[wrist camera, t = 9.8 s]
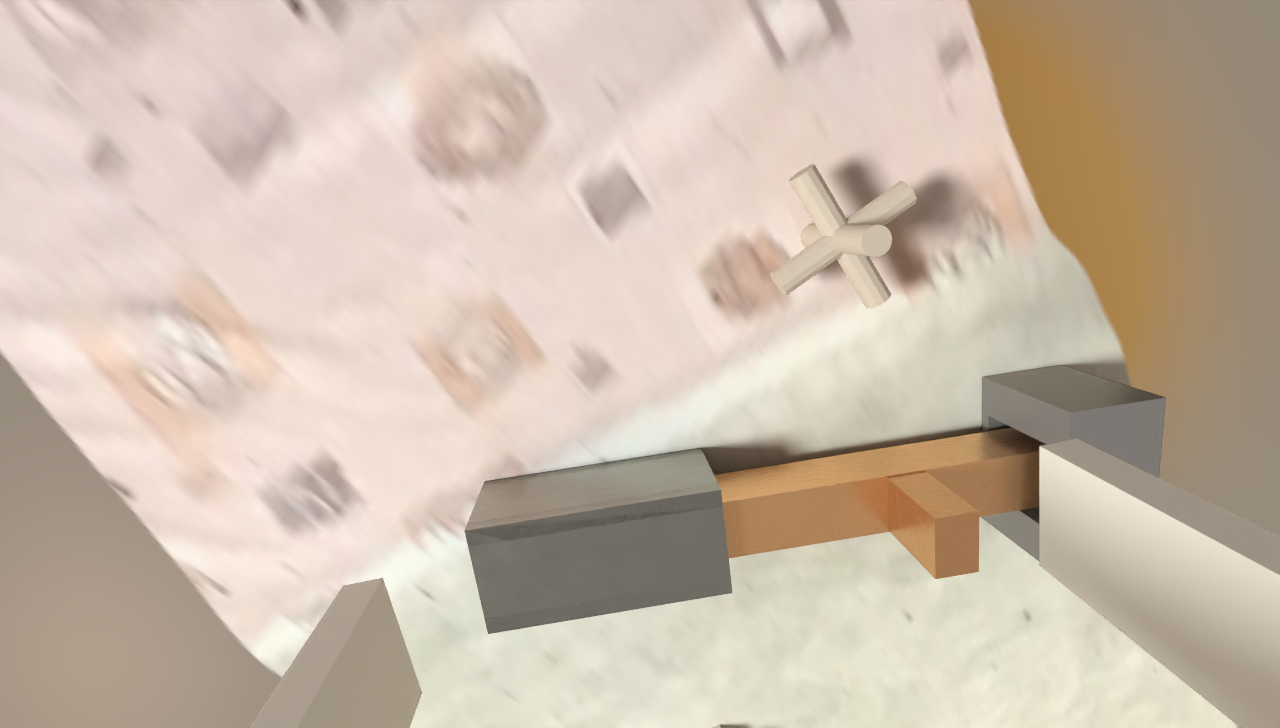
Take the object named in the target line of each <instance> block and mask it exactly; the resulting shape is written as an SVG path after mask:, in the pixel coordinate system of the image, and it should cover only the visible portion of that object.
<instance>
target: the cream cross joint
mask: <svg viewBox="0 0 1280 728" xmlns="http://www.w3.org/2000/svg"><path fill="white" fill-rule="evenodd" d="M789 182H790V184H791V185H792V187H793V188H794V190H795V192H796V193H797V195H798V197H799V198H800V200H801V202H802V203H803V205H804V207H805V208H806V210H807V211H808V213H809V215H810V216H811V218H812V220H813V221H814V223H815V224H809V225H808V226H806V227H805V228H804V229H803V231H802V234H801V241H802V243H803V245H804V246H805V247H807V248H805V249H804V250H803V251H801V252H800V253H798V254H797V255H796V256H794V257H793V258H791V259H790V260H789V261H787V262H786V263H784V264H783V265H782V266H780V267H779V268H777V269H776V270H775V271H773V272H772V273H771V274H770V275H771V278H772V280H773V282H774V283H775V285H776V286H777V287H778V289H779V290H780V291H781V292H782V293H783V294H784V295H787V294H789V293H790V292H792V291H793V290H794V289H796V288H797V287H799V286H800V285H802V284H803V283H804V282H806V281H807V280H809V279H810V278H811V277H813V276H814V275H816V274H817V273H818V272H820V271H821V270H823V269H824V268H825V267H827V266H828V265H830V264H831V263H833V262H834V261H835V260H837V261H838V262H839V264H840V266H841V267H842V269H843V271H844V272H845V274H846V276H847V277H848V279H849V281H850V282H851V284H852V285H853V287H854V289H855V290H856V292H857V294H858V295H859V297H860V299H861V300H862V302H863V304H864V305H865V307H866V308H873V307H876V306H879V305H880V304H882V303H884V302H885V301H886V300H887V299H889V298H890V296H891V293H890V291H889V290H888V288H887V286H886V285H885V283H884V281H883V279H882V278H881V276H880V274H879V273H878V271H877V269H876V268H875V266H874V264H873V263H872V261H871V259H870V258H869V257H880V256H882V255H884V254H885V253H886V252H887V251H888V250H889V249H890V247H891V244H892V235H891V232H890V231H889V229H888V228H886V227H885V225H886V224H888V223H889V222H890V221H892V220H893V219H895V218H896V217H897V216H899V215H900V214H902V213H903V212H904V211H906V210H907V209H909V208H910V207H912V206H913V205H914V204H916V200H917V198H916V196H915V193H914V191H913V190H912V189H911V187H910V186H909V185H908V184H906V183H905V182H902V181H899V182H898V183H897V184H895V185H894V186H892V187H891V188H889V189H888V190H887V191H885V192H884V193H882V194H881V195H880V196H878V197H877V198H875V199H874V200H873V201H871V202H870V203H868V204H867V205H866V206H864V207H863V208H861V209H860V210H859V211H857V212H856V213H854V214H853V215H852V216H850V217H849V218H847V219H846V217H845V215H844V214H843V212H842V210H841V209H840V207H839V205H838V203H837V202H836V200H835V198H834V197H833V195H832V193H831V192H830V190H829V188H828V187H827V185H826V183H825V182H824V180H823V178H822V176H821V175H820V173H819V171H818V170H817V168H816V166H815V165H814V164H812V165H810V166H808V167H806V168H804V169H803V170H801V171H800V172H798V173H797V174H796V175H794V176H793V177H792V178H791V179H790V180H789Z"/></svg>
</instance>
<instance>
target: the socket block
mask: <svg viewBox="0 0 1280 728" xmlns="http://www.w3.org/2000/svg"><path fill="white" fill-rule="evenodd" d="M1165 402H1166V398H1165V397H1163V396H1159V395H1156V394H1153V393H1150V392H1146V391H1143V390H1140V389H1136V388H1133V387H1130V386H1127V385H1124V384H1120V383H1117V382H1114V381H1111V380H1107V379H1104V378H1101V377H1098V376H1094V375H1091V374H1088V373H1085V372H1082V371H1078V370H1075V369H1072V368H1069V367H1065V366H1062V365H1057V366H1051V367H1044V368H1038V369H1031V370H1025V371H1018V372H1012V373H1005V374H999V375H992V376H986V377H982V432H988V431H994V430H1000V429H1007V428H1014V429H1016V430H1018V431H1021V432H1023V433H1025V434H1027V435H1029V436H1031V437H1033V438H1035V439H1037V440H1039V441H1041V442H1043V443H1045V444H1052V443H1057V442H1062V441H1067V440H1072V439H1079V440H1081V441H1083V442H1085V443H1087V444H1089V445H1091V446H1093V447H1095V448H1097V449H1099V450H1102V451H1104V452H1106V453H1108V454H1110V455H1112V456H1114V457H1116V458H1118V459H1120V460H1122V461H1124V462H1126V463H1129V464H1131V465H1133V466H1135V467H1137V468H1139V469H1141V470H1143V471H1145V472H1147V473H1149V474H1151V475H1153V476H1156V477H1158V478H1159V470H1160V458H1161V446H1162V435H1163V423H1164V413H1165ZM981 517H982V518H983V519H984V520H985V521H987V522H988V523H989V524H991V525H992V526H993V527H995V528H996V529H997V530H999V531H1000V532H1001V533H1003V534H1004V535H1005V536H1007V537H1008V538H1009V539H1010V540H1012V541H1013V542H1014V543H1016V544H1017V545H1018V546H1020V547H1021V548H1022V549H1024V550H1025V551H1026V552H1028V553H1029V554H1030V555H1031V556H1033V557H1034V558H1035V559H1037V560H1038V561H1039V507H1035V508H1029V509H1023V510H1017V511H1011V512H1005V513H999V514H993V515H987V516H981Z"/></svg>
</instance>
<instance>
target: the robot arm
mask: <svg viewBox="0 0 1280 728" xmlns="http://www.w3.org/2000/svg"><path fill="white" fill-rule="evenodd" d="M1039 565H1040V566H1041V567H1042V568H1043V569H1045V570H1046V571H1047V572H1048V573H1049V574H1051V575H1052V576H1053V577H1054V578H1056V579H1057V580H1058V581H1059V582H1061V583H1062V584H1063V585H1064V586H1066V587H1067V588H1068V589H1069V590H1071V591H1072V592H1073V593H1074V594H1076V595H1077V596H1078V597H1079V598H1080V599H1082V600H1083V601H1084V602H1085V603H1087V604H1088V605H1089V606H1090V607H1092V608H1093V609H1094V610H1095V611H1097V612H1098V613H1099V614H1100V615H1102V616H1103V617H1104V618H1105V619H1106V620H1108V621H1109V622H1110V623H1111V624H1113V625H1114V626H1115V627H1116V628H1118V629H1119V630H1120V631H1121V632H1123V633H1124V634H1125V635H1126V636H1128V637H1129V638H1130V639H1131V640H1133V641H1134V642H1135V643H1136V644H1137V645H1139V646H1140V647H1141V648H1142V649H1144V650H1145V651H1146V652H1147V653H1149V654H1150V655H1151V656H1152V657H1154V658H1155V659H1156V660H1157V661H1159V662H1160V663H1161V664H1162V665H1164V666H1165V667H1166V668H1167V669H1168V670H1170V671H1171V672H1172V673H1173V674H1175V675H1176V676H1177V677H1178V678H1180V679H1181V680H1182V681H1183V682H1185V683H1186V684H1187V685H1188V686H1190V687H1191V688H1192V689H1193V690H1194V691H1196V692H1197V693H1198V694H1199V695H1201V696H1202V697H1203V698H1204V699H1206V700H1207V701H1208V702H1209V703H1211V704H1212V705H1213V706H1214V707H1216V708H1217V709H1218V710H1219V711H1221V712H1222V713H1223V714H1224V715H1225V716H1227V717H1228V718H1229V719H1230V720H1232V721H1233V722H1234V723H1235V724H1237V725H1238V726H1239V727H1240V728H1280V536H1278V535H1276V534H1274V533H1272V532H1270V531H1268V530H1266V529H1264V528H1261V527H1259V526H1257V525H1255V524H1253V523H1251V522H1249V521H1247V520H1245V519H1243V518H1241V517H1239V516H1237V515H1234V514H1232V513H1230V512H1228V511H1226V510H1224V509H1222V508H1220V507H1218V506H1216V505H1214V504H1212V503H1209V502H1207V501H1205V500H1203V499H1201V498H1199V497H1197V496H1195V495H1193V494H1191V493H1189V492H1187V491H1185V490H1183V489H1180V488H1178V487H1176V486H1174V485H1172V484H1170V483H1168V482H1166V481H1164V480H1162V479H1160V478H1158V477H1156V476H1153V475H1151V474H1149V473H1147V472H1145V471H1143V470H1141V469H1139V468H1137V467H1135V466H1133V465H1131V464H1129V463H1126V462H1124V461H1122V460H1120V459H1118V458H1116V457H1114V456H1112V455H1110V454H1108V453H1106V452H1104V451H1102V450H1099V449H1097V448H1095V447H1093V446H1091V445H1089V444H1087V443H1085V442H1083V441H1081V440H1079V439H1072V440H1067V441H1062V442H1057V443H1052V444H1047V445H1042V446H1039ZM421 694H422V691H421V688H420V686H419V683H418V680H417V677H416V674H415V671H414V668H413V665H412V662H411V659H410V656H409V653H408V650H407V648H406V645H405V642H404V639H403V636H402V633H401V630H400V627H399V624H398V621H397V618H396V615H395V613H394V610H393V607H392V604H391V601H390V598H389V595H388V592H387V589H386V586H385V583H384V580H383V578H380V579H375V580H370V581H365V582H360V583H355V584H350V585H345V586H343V587H342V589H341V590H340V592H339V593H338V595H337V596H336V598H335V599H334V601H333V602H332V604H331V605H330V607H329V608H328V610H327V611H326V613H325V614H324V616H323V617H322V619H321V620H320V622H319V623H318V625H317V626H316V628H315V629H314V631H313V632H312V634H311V635H310V637H309V638H308V640H307V641H306V643H305V644H304V646H303V647H302V649H301V650H300V652H299V653H298V655H297V656H296V658H295V659H294V661H293V662H292V664H291V666H290V667H289V669H288V670H287V672H286V673H285V675H284V676H283V678H282V679H281V681H280V682H279V684H278V685H277V687H276V688H275V690H274V691H273V693H272V694H271V696H270V697H269V699H268V700H267V702H266V703H265V705H264V706H263V708H262V710H261V711H260V712H259V714H258V715H257V717H256V718H255V720H254V722H253V723H252V724H251V726H250V727H249V728H410V725H411V722H412V719H413V716H414V714H415V711H416V708H417V705H418V702H419V699H420V697H421Z"/></svg>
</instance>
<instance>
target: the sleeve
mask: <svg viewBox="0 0 1280 728" xmlns="http://www.w3.org/2000/svg"><path fill="white" fill-rule="evenodd" d="M465 534H466V539H467V543H468V548H469V552H470V556H471V561H472V565H473V570H474V574H475V578H476V583H477V587H478V591H479V596H480V600H481V605H482V609H483V613H484V618H485V622H486V627H487V631H488V634H491V633H497V632H503V631H509V630H515V629H521V628H527V627H532V626H538V625H544V624H550V623H556V622H562V621H568V620H574V619H580V618H586V617H592V616H598V615H604V614H610V613H616V612H622V611H628V610H633V609H639V608H645V607H651V606H657V605H663V604H669V603H675V602H681V601H687V600H693V599H699V598H705V597H711V596H717V595H723V594H729V593H732V585H731V576H730V567H729V558H728V548H727V539H726V530H725V521H724V512H723V502H722V493H721V488H720V486H719V484H718V482H717V480H716V478H715V476H714V474H713V472H712V470H711V468H710V466H709V464H708V462H707V459H706V457H705V455H704V453H703V451H702V449H701V448H696V449H690V450H683V451H677V452H671V453H664V454H658V455H651V456H645V457H639V458H632V459H626V460H619V461H613V462H607V463H600V464H594V465H587V466H581V467H575V468H568V469H562V470H556V471H549V472H543V473H536V474H530V475H524V476H517V477H511V478H504V479H498V480H492V481H485V482H484V484H483V487H482V489H481V492H480V494H479V497H478V499H477V501H476V504H475V506H474V509H473V511H472V514H471V516H470V519H469V521H468V524H467V526H466V529H465Z"/></svg>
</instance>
